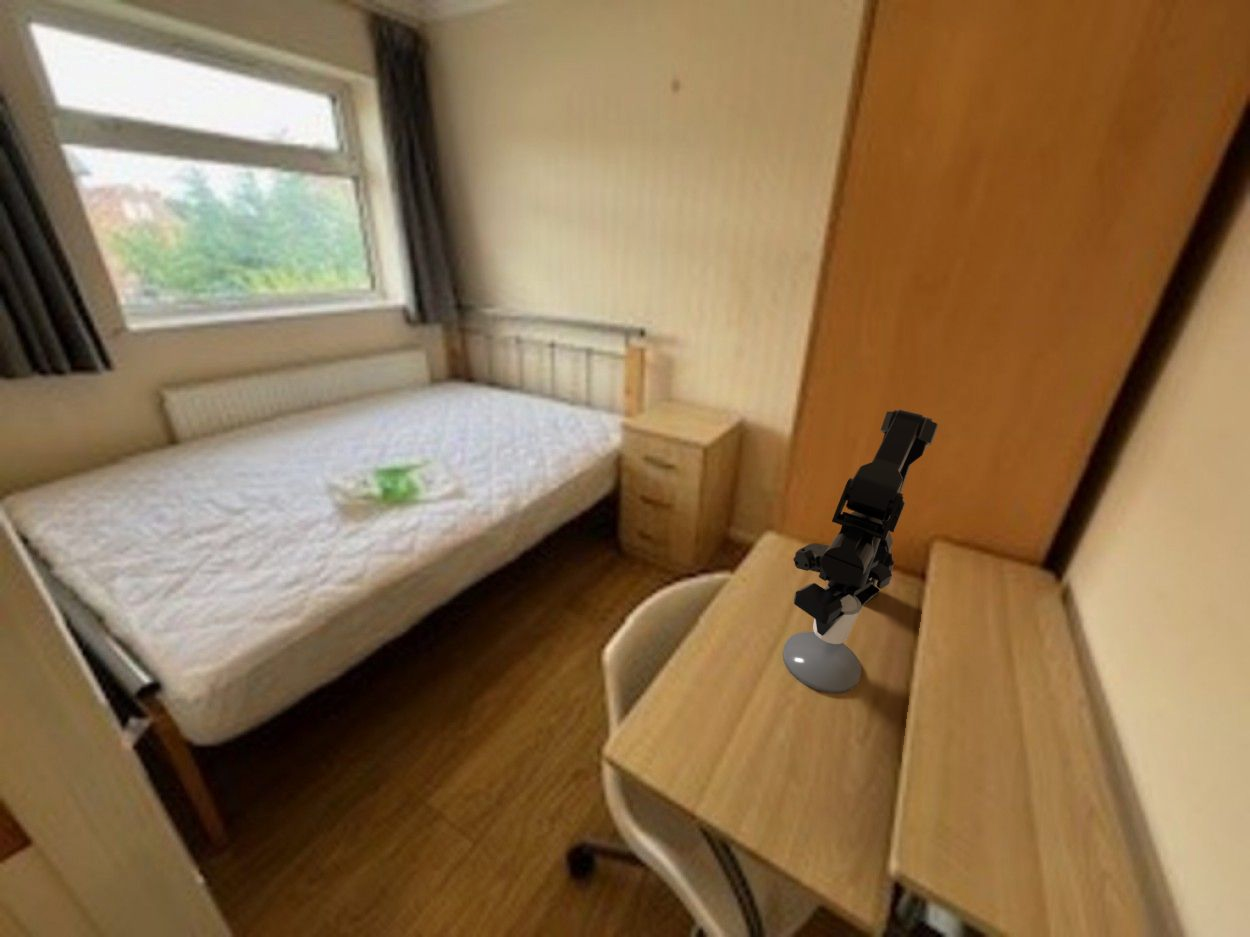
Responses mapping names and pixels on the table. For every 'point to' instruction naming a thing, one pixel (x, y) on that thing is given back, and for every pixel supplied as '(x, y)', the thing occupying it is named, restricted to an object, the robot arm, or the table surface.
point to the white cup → (842, 621)
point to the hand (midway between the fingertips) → (832, 626)
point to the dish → (821, 663)
